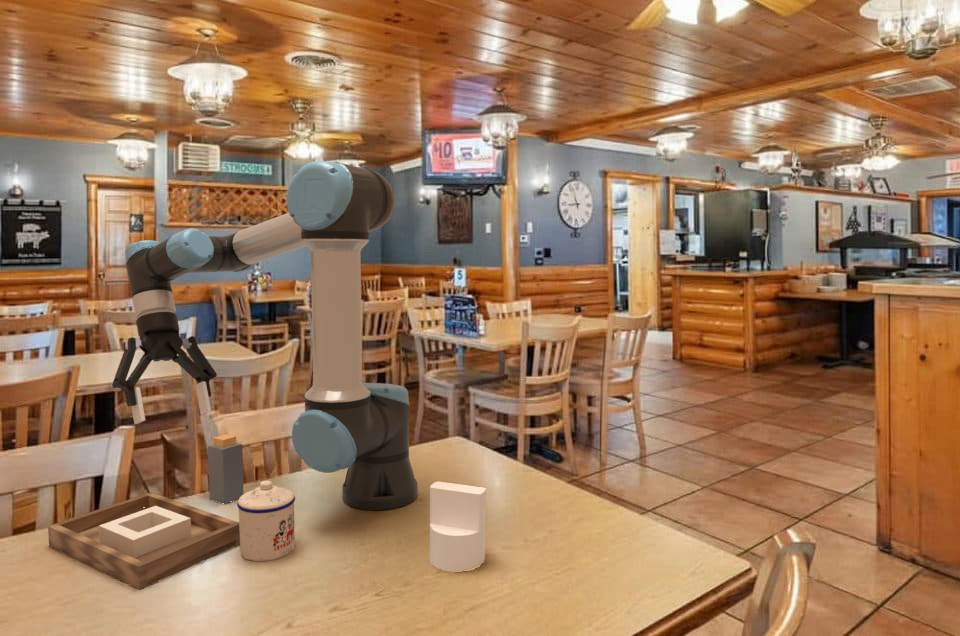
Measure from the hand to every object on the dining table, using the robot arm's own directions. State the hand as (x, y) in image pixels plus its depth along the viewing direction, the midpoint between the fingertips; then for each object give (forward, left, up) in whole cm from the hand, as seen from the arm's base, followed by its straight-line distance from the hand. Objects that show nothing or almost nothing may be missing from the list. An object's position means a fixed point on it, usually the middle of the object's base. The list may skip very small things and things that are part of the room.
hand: (174, 418), depth 128 cm
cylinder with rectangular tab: (-61, -9, -17) cm, 64 cm away
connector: (-8, -5, -16) cm, 19 cm away
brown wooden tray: (-14, +15, -16) cm, 27 cm away
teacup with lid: (-32, +4, -17) cm, 36 cm away
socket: (-14, +15, -15) cm, 26 cm away
